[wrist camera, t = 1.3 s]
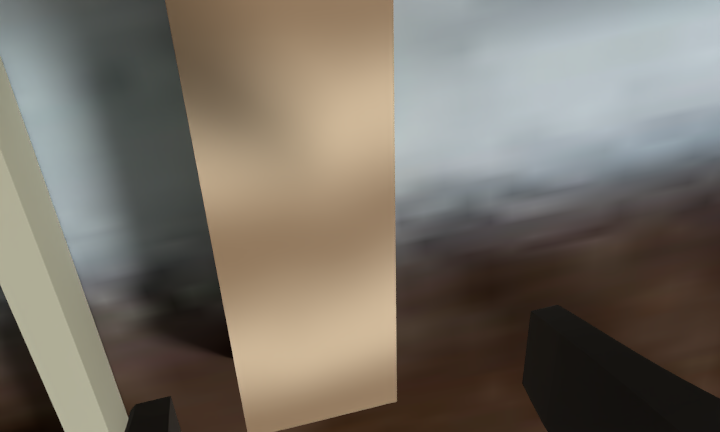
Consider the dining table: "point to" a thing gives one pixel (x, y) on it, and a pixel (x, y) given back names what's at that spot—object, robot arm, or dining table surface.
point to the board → (297, 195)
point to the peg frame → (49, 288)
